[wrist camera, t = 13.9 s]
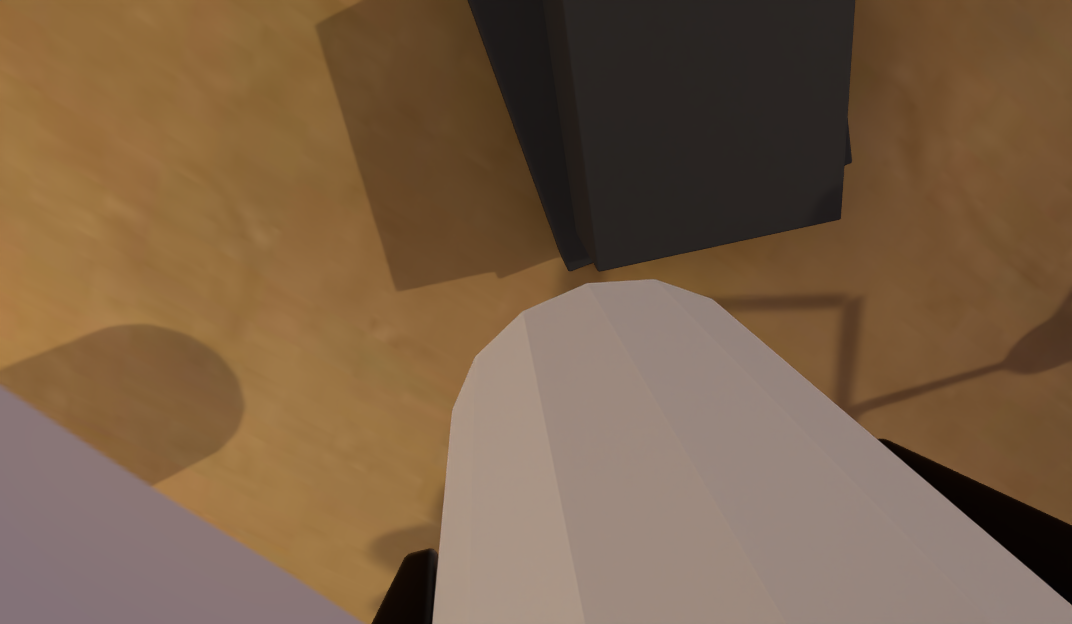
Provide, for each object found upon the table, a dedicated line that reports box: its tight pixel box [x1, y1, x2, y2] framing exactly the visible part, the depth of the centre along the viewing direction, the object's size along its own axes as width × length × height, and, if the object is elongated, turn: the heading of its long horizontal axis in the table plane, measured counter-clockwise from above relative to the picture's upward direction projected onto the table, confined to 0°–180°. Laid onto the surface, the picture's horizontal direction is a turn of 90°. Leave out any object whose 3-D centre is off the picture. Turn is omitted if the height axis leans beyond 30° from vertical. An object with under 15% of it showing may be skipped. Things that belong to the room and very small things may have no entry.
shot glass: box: [432, 279, 1072, 624], centre depth 8 cm, size 7×7×7 cm
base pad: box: [468, 0, 852, 271], centre depth 18 cm, size 9×9×2 cm
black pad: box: [542, 0, 855, 271], centre depth 16 cm, size 8×6×3 cm
